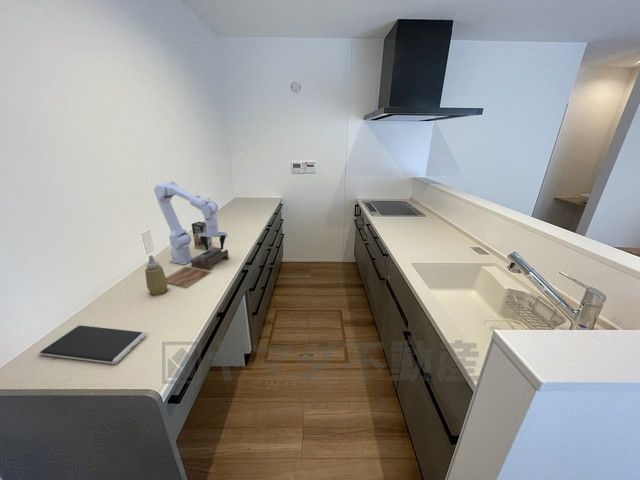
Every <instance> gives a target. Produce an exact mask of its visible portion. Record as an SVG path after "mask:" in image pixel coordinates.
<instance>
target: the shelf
mask: <svg viewBox="0 0 640 480" xmlns="http://www.w3.org/2000/svg"><path fill="white" fill-rule="evenodd" d="M229 257H230V256H229V250H228V249H225V250H221V252H220V253H219V254H217V255H215V256H213V257H212V258H210V259H208V260H206V261H205V262H203V261H198V259H197V256H195V257H193V258H194V259H192V260H191V262H190V265H191V268H195V269H200V270H205V271H211V270H212V265H213V264H214V263H216V262H218V261H219V260H221V259H223V260H229V259H230V258H229Z"/></svg>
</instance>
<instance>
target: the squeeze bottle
mask: <svg viewBox="0 0 640 480" xmlns="http://www.w3.org/2000/svg"><path fill="white" fill-rule="evenodd" d="M145 265H146V268H145V270H144V273H145V281H146V288H147V290H148V291H149V293H150V294H152V295H154V296H155V295H161V294H164V293H165V292H166V291H167V288H168V283H167V280H166V277H167V276H166V275H165V271H164V268H163V266H162V265H160V263H159V261H157V260H155V258H154V256H153V254H150V255H148V262H147V263H146V264H145Z"/></svg>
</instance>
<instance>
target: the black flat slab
mask: <svg viewBox="0 0 640 480" xmlns="http://www.w3.org/2000/svg"><path fill="white" fill-rule="evenodd" d="M145 337H146V332H143V331H135V330H126V329H117V328H109V327H108V328H107V327H98V326H89V325H81V324H79V325H76V326H75V327H73V328H71V329H70V330H69V331H67V332H65V333H64V334H63V335H61V336H60V337H58V338H57V339H55V340H54V341H52V342H50V343H49V344H48V345H45V347H42V349H40V350H39V354H40V355H41V356H46V357H47V356H49V357H55V358H56V357H57V358H64V359H72V360H79V361H88V362H97V363H103V364H112V365H114V364H117V363H119V362H120V361H121V360H122V359H123V358H124V357H125V356H126V355H127V354H128V353H129V352H130V351H131V350H132V349H134V347H135V346H137V345H138V344H139V343H140V342H141V341H142V340H143V339H144V338H145Z"/></svg>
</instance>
